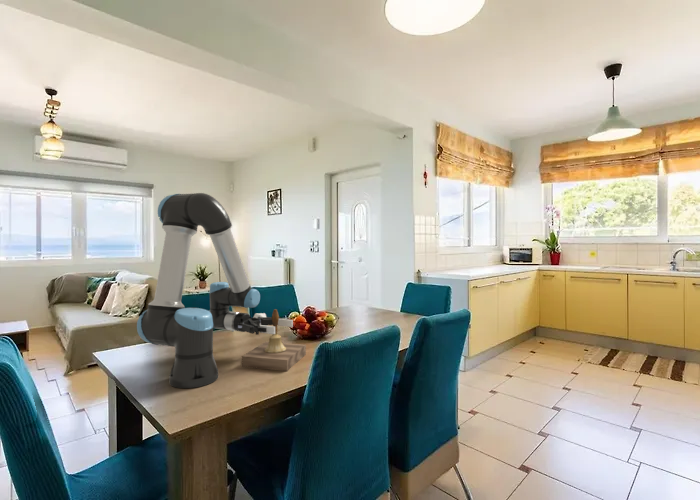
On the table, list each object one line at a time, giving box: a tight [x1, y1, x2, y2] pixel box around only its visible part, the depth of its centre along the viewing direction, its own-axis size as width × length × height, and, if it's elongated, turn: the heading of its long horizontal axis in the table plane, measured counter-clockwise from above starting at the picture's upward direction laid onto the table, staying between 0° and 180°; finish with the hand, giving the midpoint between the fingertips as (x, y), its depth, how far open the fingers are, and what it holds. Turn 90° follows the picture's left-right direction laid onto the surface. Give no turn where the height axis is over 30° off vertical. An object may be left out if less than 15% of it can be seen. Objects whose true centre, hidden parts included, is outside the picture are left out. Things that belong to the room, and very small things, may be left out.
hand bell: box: [265, 308, 286, 353], centre depth 144 cm, size 8×8×16 cm
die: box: [252, 312, 267, 326], centre depth 196 cm, size 8×9×10 cm
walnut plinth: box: [241, 341, 307, 372], centre depth 144 cm, size 20×18×4 cm
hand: (283, 326), depth 142 cm, fingers open, 11 cm apart
